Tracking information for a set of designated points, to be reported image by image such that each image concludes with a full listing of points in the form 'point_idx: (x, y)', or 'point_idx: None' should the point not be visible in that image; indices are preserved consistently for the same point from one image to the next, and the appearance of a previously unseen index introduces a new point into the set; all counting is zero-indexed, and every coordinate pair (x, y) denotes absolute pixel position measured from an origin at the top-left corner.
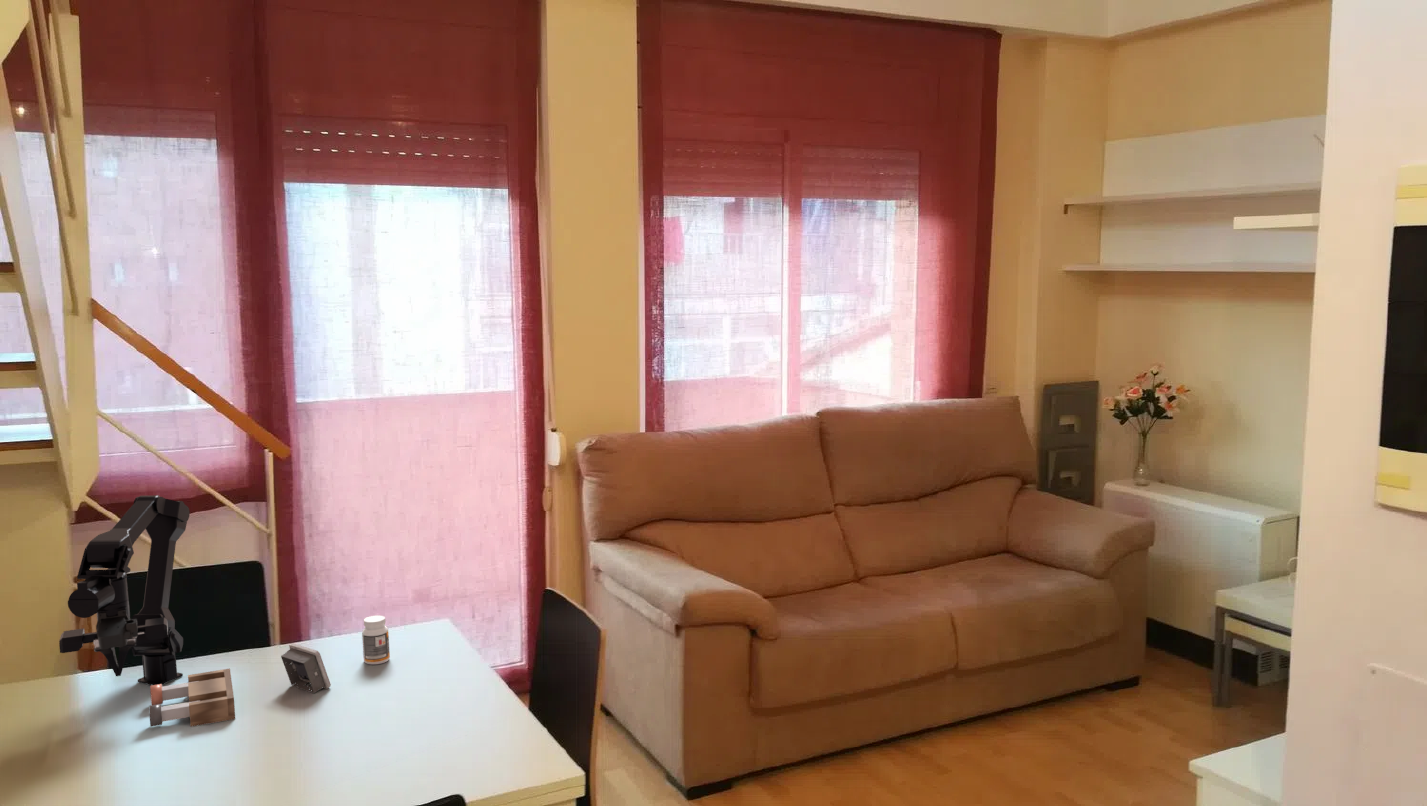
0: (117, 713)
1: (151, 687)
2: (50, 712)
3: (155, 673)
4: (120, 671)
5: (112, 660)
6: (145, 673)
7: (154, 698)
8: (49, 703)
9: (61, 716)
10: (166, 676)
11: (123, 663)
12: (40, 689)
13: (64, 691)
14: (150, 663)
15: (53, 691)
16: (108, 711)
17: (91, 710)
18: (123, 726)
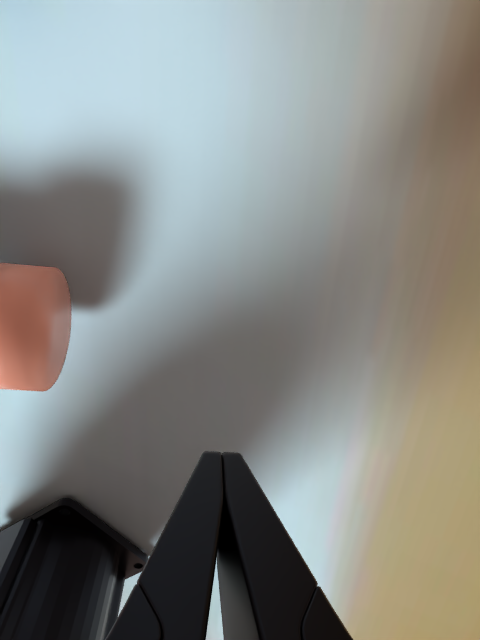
0: (237, 304)
1: (18, 345)
2: (464, 446)
3: (62, 564)
4: (202, 480)
5: (287, 616)
6: (108, 582)
7: (24, 271)
8: (441, 516)
9: (446, 391)
10: (20, 536)
11: (158, 548)
12: (428, 610)
13: (375, 577)
14: (65, 624)
15: (402, 588)
16: (272, 349)
17: (333, 394)
18: (221, 82)
